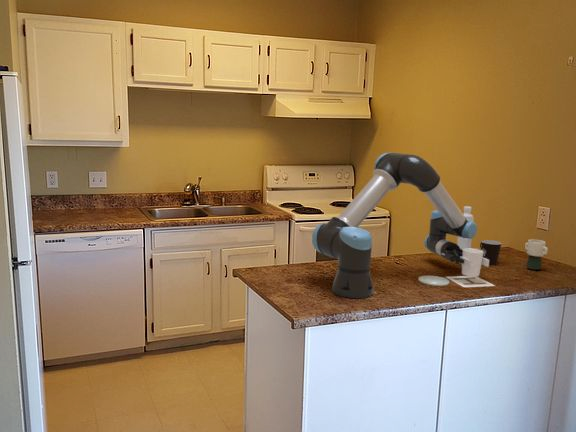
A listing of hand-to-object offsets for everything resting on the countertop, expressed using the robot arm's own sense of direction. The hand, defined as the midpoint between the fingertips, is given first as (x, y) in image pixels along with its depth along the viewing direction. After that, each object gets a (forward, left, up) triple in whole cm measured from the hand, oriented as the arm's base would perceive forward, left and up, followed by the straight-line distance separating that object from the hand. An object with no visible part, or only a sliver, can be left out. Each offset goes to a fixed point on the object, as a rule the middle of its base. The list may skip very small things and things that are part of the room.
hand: (479, 263), depth 203 cm
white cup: (0, +5, -6) cm, 8 cm away
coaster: (-15, +7, -9) cm, 19 cm away
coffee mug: (+27, +31, -9) cm, 42 cm away
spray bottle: (+25, +49, -9) cm, 56 cm away
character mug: (+41, +18, -9) cm, 46 cm away
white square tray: (0, +5, -9) cm, 10 cm away
